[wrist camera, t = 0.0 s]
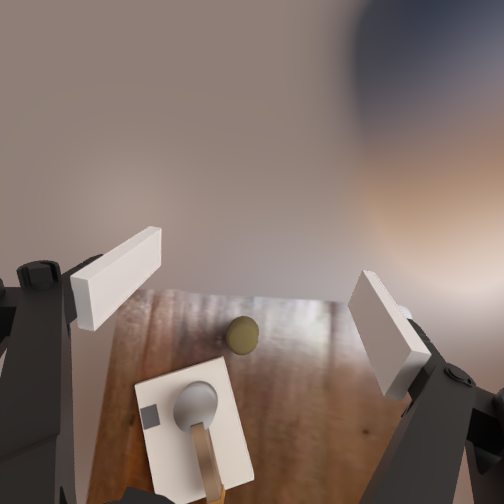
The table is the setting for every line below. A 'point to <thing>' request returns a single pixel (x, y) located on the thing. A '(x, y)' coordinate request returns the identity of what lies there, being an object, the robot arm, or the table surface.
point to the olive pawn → (242, 335)
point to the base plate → (182, 444)
